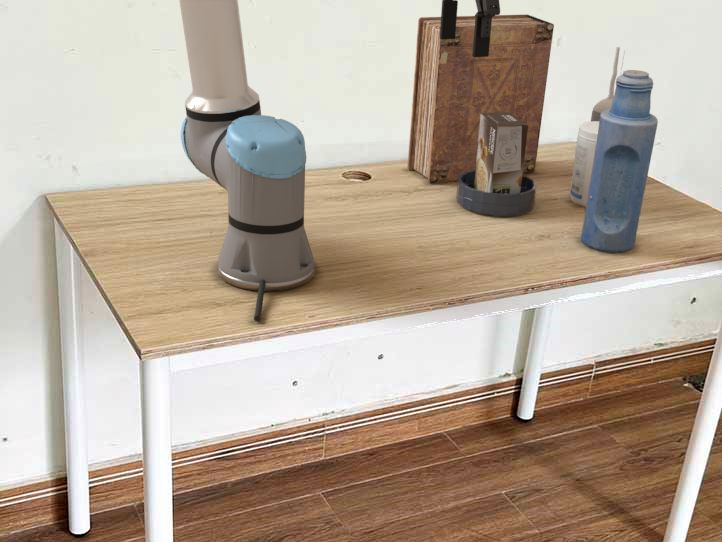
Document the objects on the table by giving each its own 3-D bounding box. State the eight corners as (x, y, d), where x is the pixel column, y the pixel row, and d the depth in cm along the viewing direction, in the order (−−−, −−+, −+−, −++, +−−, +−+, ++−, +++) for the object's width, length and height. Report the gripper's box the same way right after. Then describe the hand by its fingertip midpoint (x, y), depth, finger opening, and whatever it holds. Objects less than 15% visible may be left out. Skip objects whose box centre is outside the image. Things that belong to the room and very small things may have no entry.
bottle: (636, 238, 192) (668, 69, 177) (632, 257, 183) (664, 82, 168) (583, 230, 193) (610, 62, 178) (577, 248, 185) (604, 74, 170)
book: (428, 184, 210) (440, 27, 195) (407, 169, 217) (417, 17, 202) (535, 172, 221) (554, 23, 206) (511, 159, 228) (529, 13, 213)
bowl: (547, 214, 199) (550, 191, 197) (476, 220, 194) (479, 197, 192) (511, 188, 211) (514, 166, 209) (444, 193, 206) (446, 171, 204)
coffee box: (519, 209, 200) (530, 125, 192) (488, 211, 198) (497, 126, 190) (501, 193, 207) (510, 111, 199) (471, 194, 205) (479, 112, 197)
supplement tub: (622, 199, 210) (635, 125, 202) (611, 213, 202) (624, 137, 195) (575, 190, 213) (586, 117, 205) (562, 204, 205) (573, 128, 198)
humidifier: (597, 159, 232) (616, 41, 219) (626, 169, 227) (647, 49, 214) (572, 165, 227) (590, 45, 215) (601, 175, 222) (621, 53, 209)
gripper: (529, -76, 165) (515, 63, 176) (462, -95, 185) (453, 31, 196) (486, -76, 163) (474, 65, 174) (423, -95, 182) (415, 32, 193)
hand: (463, 47), depth 185 cm, fingers open, 13 cm apart
